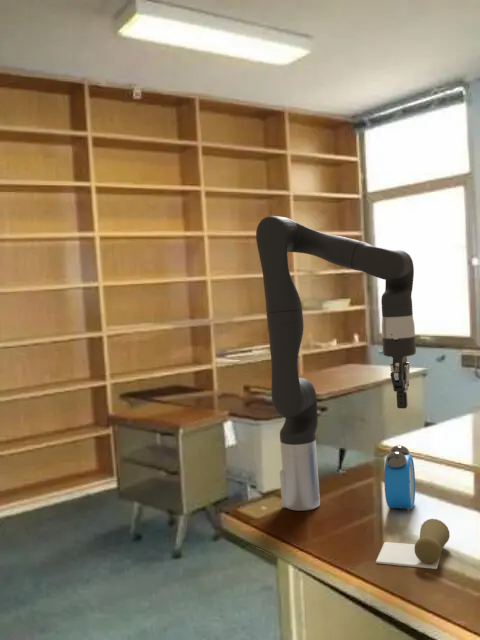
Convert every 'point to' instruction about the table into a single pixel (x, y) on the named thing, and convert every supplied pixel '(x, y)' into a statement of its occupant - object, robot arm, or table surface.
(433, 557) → the cork
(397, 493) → the alarm clock
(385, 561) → the mat
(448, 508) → the table surface
